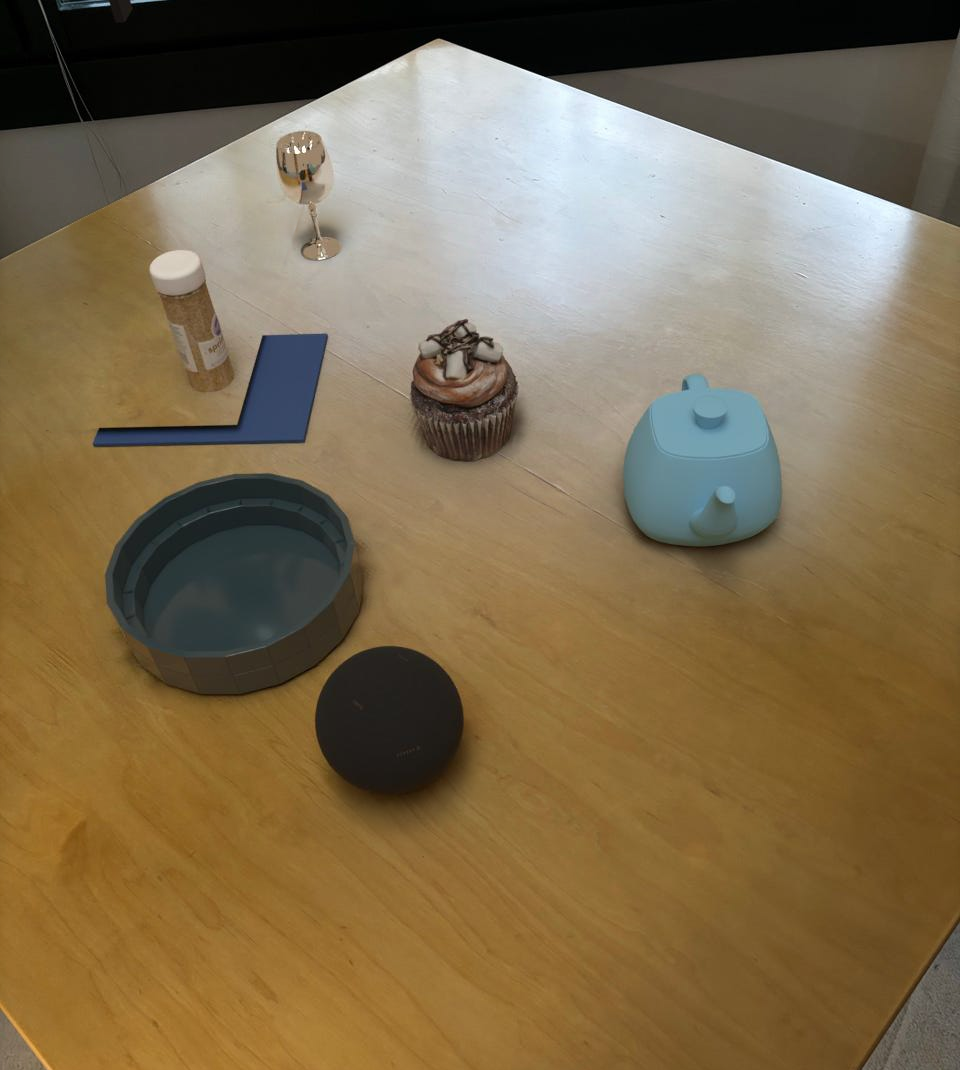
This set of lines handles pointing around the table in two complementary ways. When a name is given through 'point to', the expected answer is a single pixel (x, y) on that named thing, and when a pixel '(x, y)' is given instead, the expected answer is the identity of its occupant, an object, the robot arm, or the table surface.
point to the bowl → (235, 583)
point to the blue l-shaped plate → (251, 401)
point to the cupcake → (463, 393)
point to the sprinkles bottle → (192, 319)
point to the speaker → (389, 720)
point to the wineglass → (307, 183)
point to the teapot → (702, 467)
